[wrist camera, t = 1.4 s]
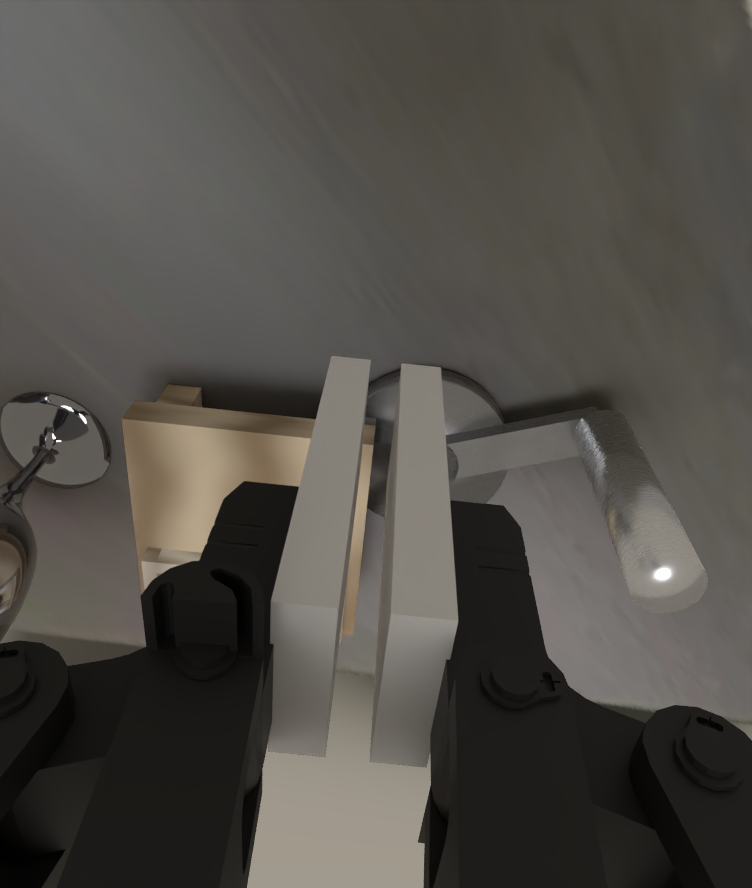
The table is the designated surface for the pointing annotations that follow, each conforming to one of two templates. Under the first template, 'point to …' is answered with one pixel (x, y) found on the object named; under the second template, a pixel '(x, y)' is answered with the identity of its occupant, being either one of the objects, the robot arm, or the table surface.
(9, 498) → the wine glass
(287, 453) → the stand
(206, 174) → the table surface
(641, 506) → the silver l-shaped piece
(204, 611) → the robot arm
